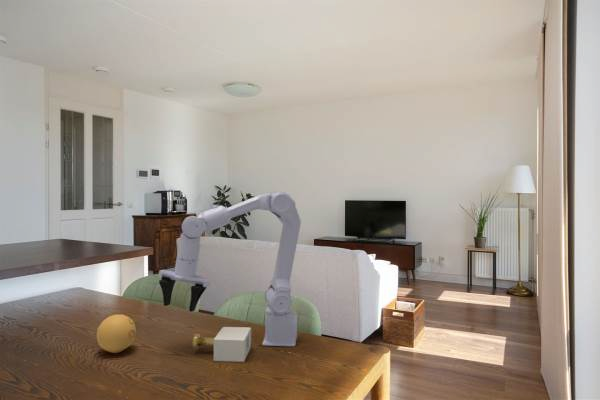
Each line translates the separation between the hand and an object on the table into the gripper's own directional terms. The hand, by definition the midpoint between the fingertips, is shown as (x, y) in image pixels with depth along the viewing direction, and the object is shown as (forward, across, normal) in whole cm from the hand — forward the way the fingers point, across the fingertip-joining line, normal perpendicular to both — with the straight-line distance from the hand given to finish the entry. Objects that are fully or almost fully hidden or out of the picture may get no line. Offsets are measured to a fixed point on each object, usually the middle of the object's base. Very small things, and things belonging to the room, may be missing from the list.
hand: (179, 307), depth 112 cm
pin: (+9, +12, +1) cm, 15 cm away
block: (+10, +17, +2) cm, 19 cm away
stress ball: (+15, -14, -3) cm, 21 cm away
